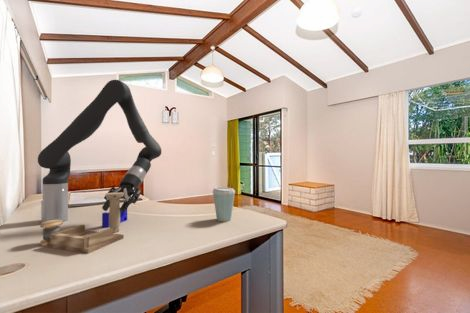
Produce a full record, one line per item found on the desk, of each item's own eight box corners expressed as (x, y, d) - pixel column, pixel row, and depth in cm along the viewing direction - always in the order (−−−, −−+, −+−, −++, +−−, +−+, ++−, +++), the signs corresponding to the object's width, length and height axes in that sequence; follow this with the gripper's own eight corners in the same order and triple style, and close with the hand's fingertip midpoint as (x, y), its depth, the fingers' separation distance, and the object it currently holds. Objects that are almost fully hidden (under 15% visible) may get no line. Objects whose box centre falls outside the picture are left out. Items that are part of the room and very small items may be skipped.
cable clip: (118, 219, 109) (118, 207, 110) (127, 220, 109) (127, 207, 109) (99, 227, 98) (99, 213, 98) (108, 228, 97) (108, 213, 97)
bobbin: (35, 244, 78) (35, 223, 78) (54, 238, 83) (54, 219, 83) (48, 246, 76) (48, 225, 76) (66, 240, 82) (66, 220, 82)
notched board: (46, 246, 76) (46, 233, 76) (85, 233, 89) (85, 222, 90) (88, 253, 71) (88, 239, 71) (123, 238, 84) (123, 226, 84)
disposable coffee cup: (235, 216, 114) (234, 186, 114) (235, 223, 103) (235, 189, 103) (213, 216, 114) (213, 186, 114) (211, 223, 103) (211, 189, 103)
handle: (105, 231, 92) (105, 193, 92) (123, 228, 95) (123, 192, 95) (104, 234, 88) (105, 194, 88) (123, 232, 91) (123, 193, 91)
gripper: (115, 172, 101) (92, 204, 90) (143, 173, 97) (122, 206, 86) (125, 183, 106) (104, 214, 95) (151, 184, 102) (132, 217, 91)
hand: (112, 210), depth 91 cm, fingers open, 8 cm apart
